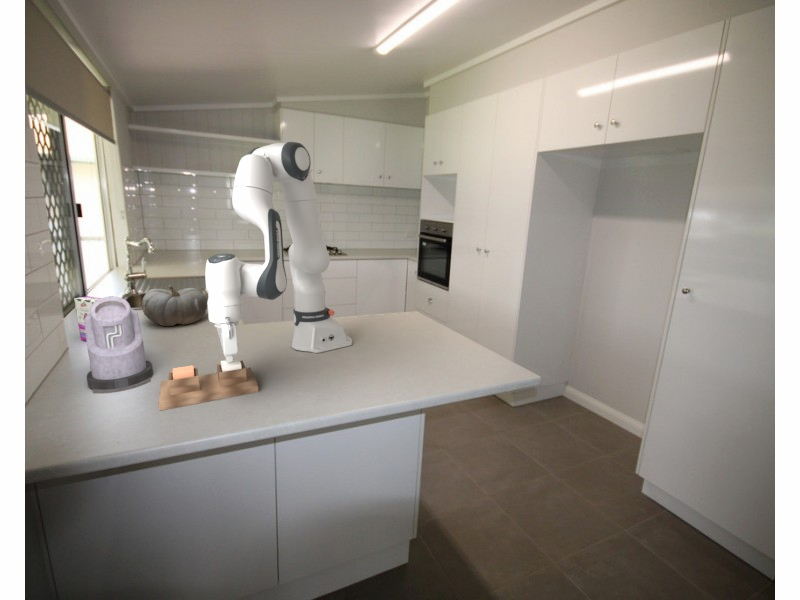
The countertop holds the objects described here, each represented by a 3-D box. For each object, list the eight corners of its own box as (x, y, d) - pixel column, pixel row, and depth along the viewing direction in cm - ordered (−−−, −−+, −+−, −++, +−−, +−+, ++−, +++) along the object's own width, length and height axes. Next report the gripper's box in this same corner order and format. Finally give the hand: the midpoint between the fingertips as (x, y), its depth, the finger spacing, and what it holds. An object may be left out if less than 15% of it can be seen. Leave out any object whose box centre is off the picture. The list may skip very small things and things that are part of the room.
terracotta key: (194, 375, 112) (193, 365, 112) (194, 382, 108) (193, 371, 107) (174, 378, 110) (172, 368, 109) (173, 385, 106) (172, 375, 105)
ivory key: (239, 367, 118) (239, 358, 117) (242, 374, 114) (241, 364, 113) (221, 370, 116) (220, 361, 115) (222, 377, 111) (222, 367, 111)
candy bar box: (113, 340, 151) (107, 298, 147) (99, 344, 146) (92, 301, 142) (94, 336, 155) (87, 295, 151) (80, 340, 150) (72, 298, 147)
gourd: (130, 316, 173) (134, 277, 170) (189, 314, 193) (193, 279, 190) (155, 334, 158) (160, 292, 155) (216, 330, 178) (221, 292, 176)
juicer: (156, 384, 116) (145, 302, 110) (86, 398, 107) (70, 310, 101) (147, 352, 140) (138, 284, 134) (90, 362, 131) (77, 289, 125)
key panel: (250, 373, 124) (249, 355, 123) (258, 391, 112) (257, 371, 111) (161, 388, 113) (159, 368, 112) (159, 410, 101) (156, 388, 100)
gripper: (242, 321, 103) (245, 371, 106) (234, 304, 121) (236, 347, 124) (215, 324, 100) (219, 375, 103) (211, 305, 118) (214, 350, 121)
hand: (229, 360), depth 114 cm, fingers closed
